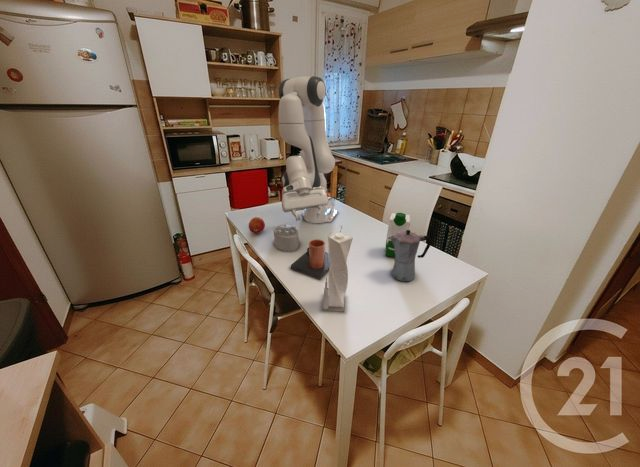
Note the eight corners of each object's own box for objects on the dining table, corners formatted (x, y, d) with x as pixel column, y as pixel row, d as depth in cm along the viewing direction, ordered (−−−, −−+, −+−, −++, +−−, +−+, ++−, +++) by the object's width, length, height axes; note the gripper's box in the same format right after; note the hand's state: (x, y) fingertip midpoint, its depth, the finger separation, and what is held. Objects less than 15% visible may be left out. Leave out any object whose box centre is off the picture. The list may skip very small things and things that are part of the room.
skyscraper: (325, 293, 94) (326, 223, 81) (347, 295, 94) (352, 224, 81) (322, 310, 87) (324, 236, 74) (347, 312, 86) (353, 237, 73)
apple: (267, 229, 139) (265, 215, 136) (262, 236, 132) (261, 222, 128) (252, 228, 140) (250, 214, 136) (247, 235, 133) (245, 221, 129)
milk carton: (383, 256, 116) (389, 215, 107) (385, 246, 124) (391, 207, 115) (403, 260, 114) (411, 218, 104) (405, 250, 121) (412, 210, 112)
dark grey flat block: (311, 251, 120) (311, 244, 118) (339, 260, 114) (339, 253, 112) (290, 268, 108) (290, 261, 106) (320, 279, 101) (320, 272, 100)
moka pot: (382, 267, 109) (388, 224, 100) (419, 268, 109) (429, 225, 99) (386, 281, 101) (393, 236, 91) (427, 282, 100) (438, 237, 91)
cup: (314, 258, 111) (314, 238, 106) (327, 262, 108) (327, 241, 104) (306, 265, 106) (306, 244, 102) (319, 270, 104) (319, 248, 99)
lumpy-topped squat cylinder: (291, 236, 132) (290, 220, 128) (303, 247, 122) (303, 231, 118) (272, 241, 127) (270, 225, 123) (283, 254, 118) (281, 237, 114)
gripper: (322, 189, 120) (330, 217, 117) (278, 195, 114) (285, 224, 111) (325, 182, 114) (334, 211, 111) (279, 188, 109) (286, 219, 105)
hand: (309, 218), depth 111 cm, fingers open, 8 cm apart
